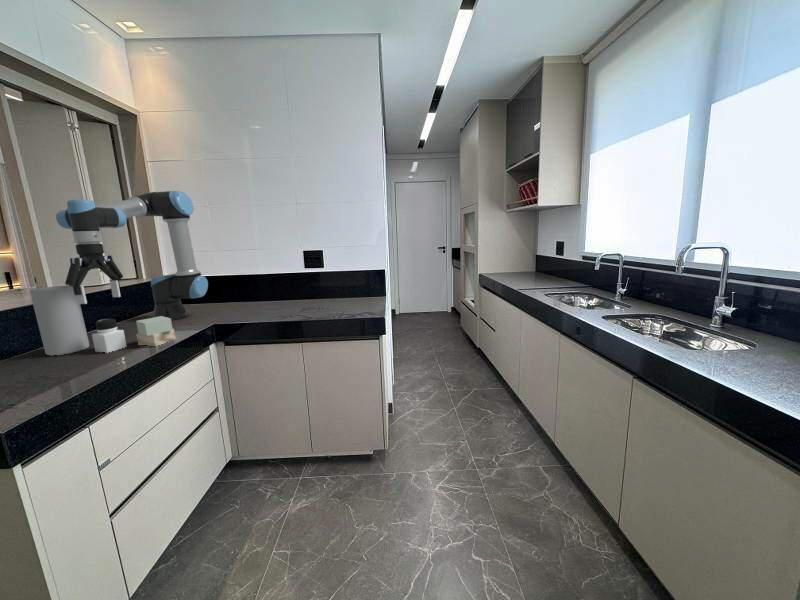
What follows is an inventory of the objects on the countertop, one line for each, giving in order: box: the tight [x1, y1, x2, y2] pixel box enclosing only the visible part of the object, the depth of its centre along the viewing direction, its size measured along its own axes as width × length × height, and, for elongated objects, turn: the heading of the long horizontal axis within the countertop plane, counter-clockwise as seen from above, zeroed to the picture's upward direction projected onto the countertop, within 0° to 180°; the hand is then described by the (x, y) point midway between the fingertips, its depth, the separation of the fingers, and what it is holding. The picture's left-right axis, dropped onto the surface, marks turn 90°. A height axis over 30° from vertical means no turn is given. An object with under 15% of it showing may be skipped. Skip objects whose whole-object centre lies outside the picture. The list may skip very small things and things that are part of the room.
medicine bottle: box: [91, 318, 128, 354], centre depth 132 cm, size 7×7×12 cm
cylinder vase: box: [29, 285, 90, 357], centre depth 132 cm, size 12×12×25 cm
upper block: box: [135, 316, 174, 336], centre depth 139 cm, size 9×9×5 cm
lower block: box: [136, 328, 177, 347], centre depth 140 cm, size 9×9×5 cm
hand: (100, 300), depth 130 cm, fingers open, 13 cm apart
